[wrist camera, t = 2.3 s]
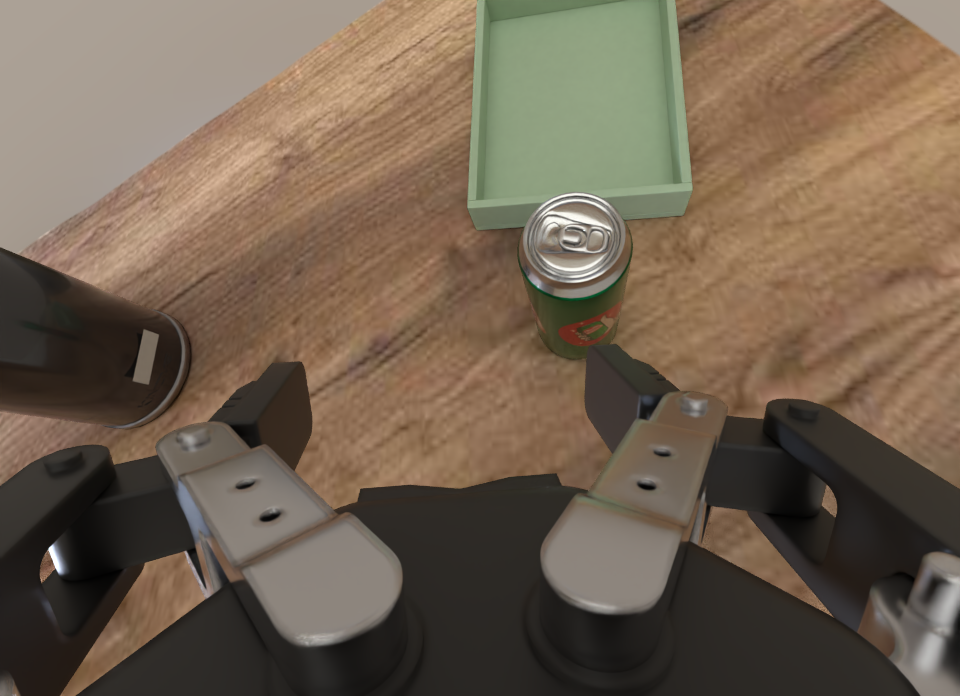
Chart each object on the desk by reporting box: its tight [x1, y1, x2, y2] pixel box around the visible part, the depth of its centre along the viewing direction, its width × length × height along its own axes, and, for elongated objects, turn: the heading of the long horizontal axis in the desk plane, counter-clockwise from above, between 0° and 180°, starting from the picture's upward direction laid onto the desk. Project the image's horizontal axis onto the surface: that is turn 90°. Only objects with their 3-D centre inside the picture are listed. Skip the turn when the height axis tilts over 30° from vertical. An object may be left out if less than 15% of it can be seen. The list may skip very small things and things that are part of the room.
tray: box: [467, 0, 693, 230], centre depth 35 cm, size 19×14×3 cm
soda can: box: [517, 192, 633, 359], centre depth 26 cm, size 5×5×12 cm
